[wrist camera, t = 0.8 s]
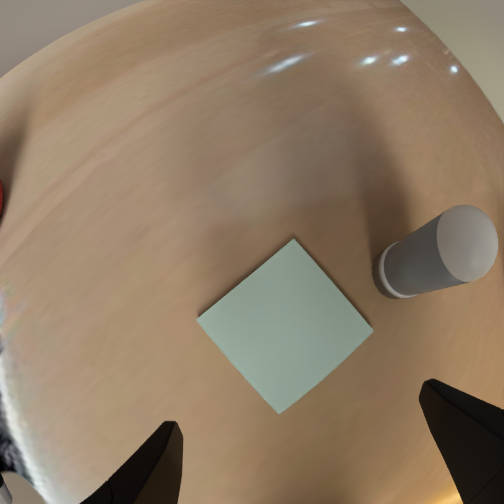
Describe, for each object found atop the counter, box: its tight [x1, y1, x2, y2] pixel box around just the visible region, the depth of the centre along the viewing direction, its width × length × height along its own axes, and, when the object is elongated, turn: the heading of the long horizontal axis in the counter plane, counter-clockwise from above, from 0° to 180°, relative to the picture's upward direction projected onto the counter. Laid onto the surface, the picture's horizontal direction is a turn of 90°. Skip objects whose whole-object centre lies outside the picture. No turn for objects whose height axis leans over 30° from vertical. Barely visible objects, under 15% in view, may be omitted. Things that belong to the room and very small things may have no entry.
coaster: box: [196, 239, 373, 414], centre depth 22 cm, size 10×10×1 cm
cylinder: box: [373, 205, 498, 299], centre depth 17 cm, size 5×5×12 cm
